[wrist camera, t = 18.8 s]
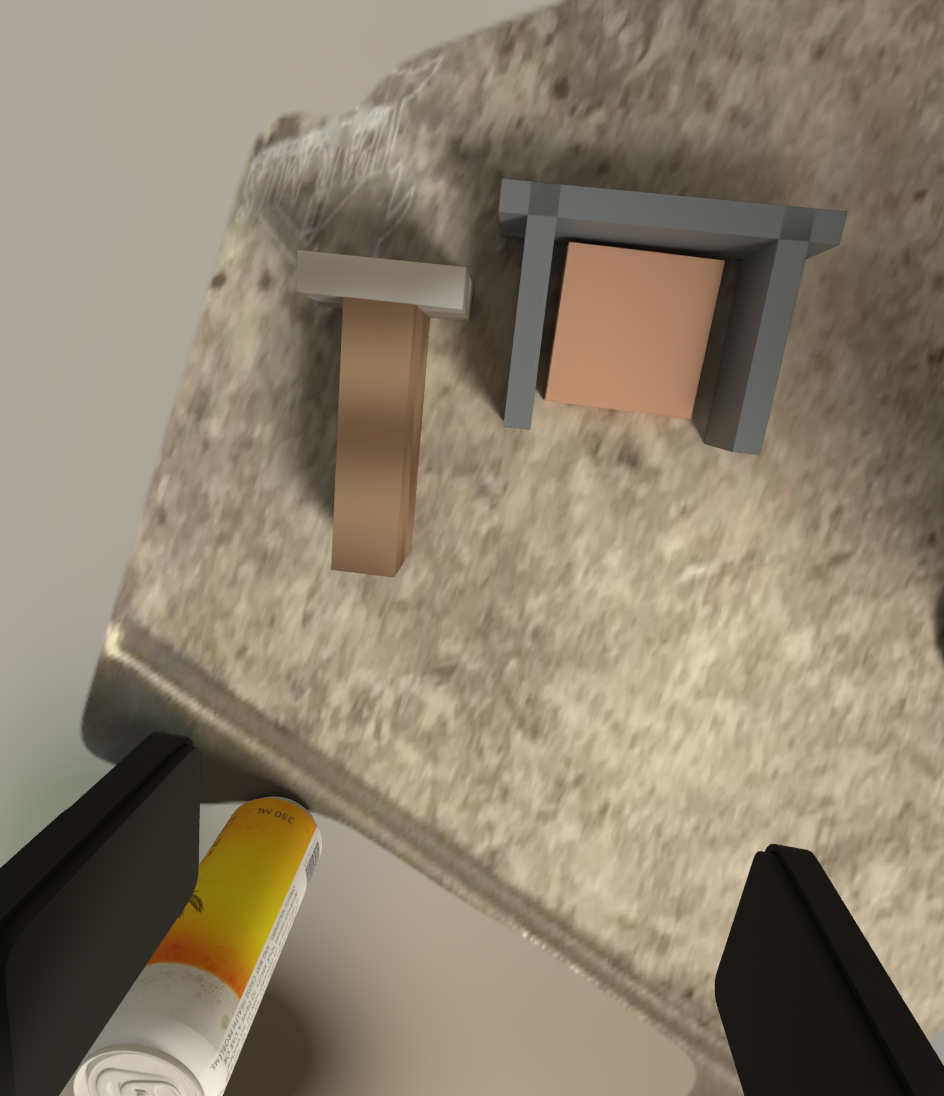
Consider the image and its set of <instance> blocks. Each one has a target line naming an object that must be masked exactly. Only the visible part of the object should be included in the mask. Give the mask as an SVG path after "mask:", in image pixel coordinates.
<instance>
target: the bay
mask: <svg viewBox="0 0 944 1096" xmlns="http://www.w3.org/2000/svg"><path fill="white" fill-rule="evenodd" d="M846 215H847V212H846V211H835V210H825V209H814V208H804V207H793V206H783V205H772V204H762V203H751V202H741V201H730V200H720V199H709V198H698V197H688V196H677V195H667V194H656V193H646V192H635V191H625V190H614V189H604V188H593V187H583V186H572V185H562V184H551V183H540V182H530V181H519V180H509V179H502V185H501V194H500V204H499V223H500V236H508V237H519V238H525V243H524V252H523V261H522V269H521V278H520V287H519V296H518V304H517V313H516V322H515V330H514V339H513V348H512V356H511V365H510V374H509V383H508V391H507V400H506V409H505V417H504V426H503V427H509V428H518V429H527V430H530V426H531V418H532V411H533V403H534V395H535V387H536V379H537V371H538V363H539V355H540V347H541V340H542V332H543V324H544V316H545V308H546V300H547V292H548V284H549V276H550V269H551V261H552V253H553V245H554V241H559V242H574V243H582V244H591V245H600V246H610V247H620V248H631V249H641V250H651V251H661V252H671V253H681V254H692V255H702V256H712V257H722V258H732V259H742V262H741V267H740V272H739V277H738V281H737V286H736V291H735V296H734V301H733V306H732V311H731V316H730V321H729V325H728V330H727V335H726V340H725V345H724V350H723V355H722V360H721V365H720V369H719V374H718V379H717V384H716V389H715V394H714V399H713V404H712V409H711V413H710V418H709V423H708V428H707V433H706V438H705V443H704V444H707V445H710V446H714V447H717V448H721V449H724V450H728V451H731V452H738V453H748V454H757V455H760V453H761V448H762V444H763V440H764V435H765V431H766V427H767V422H768V418H769V414H770V409H771V405H772V401H773V396H774V392H775V388H776V383H777V379H778V375H779V370H780V366H781V362H782V357H783V353H784V348H785V344H786V340H787V335H788V331H789V327H790V322H791V318H792V314H793V309H794V305H795V301H796V296H797V292H798V288H799V283H800V279H801V275H802V270H803V266H804V262H805V259H807V258H810V257H812V256H814V255H817V254H819V253H821V252H824V251H826V250H828V249H830V248H833V247H835V246H837V245H839V244H840V239H841V235H842V231H843V227H844V223H845V219H846Z"/></svg>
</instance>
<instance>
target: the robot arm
mask: <svg viewBox="0 0 944 1096" xmlns="http://www.w3.org/2000/svg"><path fill="white" fill-rule="evenodd" d="M200 767H201V754H200V750H199V749H198V748H194V747H193V743H192V741H191V739H190V738H188V737H184V736H179V735H173V734H168V733H162V732H154V733H152V734H151V735H149V736H148V737H147V738H146V739H145V740H144V741H143V742H141V743H140V744H139V745H138V746H137V747H136V748H135V749H134V750H133V751H132V752H130V753H129V754H128V755H127V756H126V757H125V758H124V759H123V760H122V761H120V762H119V763H118V764H117V765H116V766H115V767H114V768H113V769H112V770H111V771H109V772H108V773H107V774H106V775H105V776H104V777H103V778H102V779H101V780H100V781H98V782H97V783H96V784H95V785H94V786H93V787H92V788H91V789H90V790H89V791H87V793H85V794H84V795H83V796H82V797H81V798H80V799H79V800H77V801H76V802H75V803H74V804H73V805H72V806H71V807H69V808H68V809H67V810H65V811H64V812H62V813H61V814H60V815H59V816H58V817H57V818H55V820H54V821H52V822H51V823H50V824H49V825H48V826H47V827H45V828H44V829H43V830H42V831H41V832H40V833H39V834H38V835H37V836H35V837H34V838H33V839H32V840H31V841H30V842H29V843H28V844H27V845H25V846H24V847H23V848H22V849H21V850H20V851H19V852H18V853H17V854H16V855H14V856H13V857H12V858H11V859H10V860H9V861H8V862H7V863H6V864H4V865H3V866H2V867H1V868H0V1096H59V1095H60V1093H61V1092H62V1090H63V1089H64V1087H65V1086H66V1084H67V1083H68V1081H69V1080H70V1078H71V1077H72V1075H73V1074H74V1072H75V1071H76V1069H77V1068H78V1066H79V1065H80V1063H81V1062H82V1060H83V1059H84V1057H85V1056H86V1054H87V1053H88V1051H89V1050H90V1048H91V1047H92V1045H93V1044H94V1042H95V1041H96V1039H97V1038H98V1036H99V1035H100V1033H101V1032H102V1030H103V1029H104V1027H105V1026H106V1024H107V1023H108V1021H109V1020H110V1018H111V1017H112V1016H113V1014H114V1013H115V1011H116V1010H117V1008H118V1007H119V1005H120V1004H121V1002H122V1001H123V999H124V998H125V996H126V995H127V993H128V992H129V990H130V989H131V987H132V986H133V984H134V983H135V981H136V980H137V978H138V977H139V975H140V974H141V972H142V971H143V969H144V968H145V966H146V965H147V963H148V962H149V960H150V959H151V957H152V956H153V954H154V953H155V951H156V950H157V948H158V947H159V945H160V944H161V942H162V941H163V939H164V938H165V936H166V935H167V933H168V932H169V930H170V929H171V927H172V926H173V924H174V923H175V921H176V920H177V918H178V917H179V915H180V914H181V912H182V911H183V909H184V908H185V906H186V905H187V903H188V902H189V900H190V898H191V897H192V895H193V892H194V890H195V887H196V884H197V880H198V871H199V819H200V818H199V817H200V816H199V815H200ZM715 998H716V1003H717V1007H718V1010H719V1013H720V1017H721V1020H722V1023H723V1027H724V1030H725V1033H726V1036H727V1040H728V1043H729V1046H730V1050H731V1053H732V1056H733V1059H734V1063H735V1066H736V1069H737V1073H738V1076H739V1079H740V1082H741V1086H742V1089H743V1092H744V1096H944V1065H943V1064H942V1062H941V1061H940V1059H939V1057H938V1056H937V1054H936V1052H935V1051H934V1050H933V1048H932V1046H931V1044H930V1043H929V1041H928V1039H927V1038H926V1036H925V1034H924V1033H923V1031H922V1030H921V1028H920V1026H919V1025H918V1023H917V1021H916V1020H915V1018H914V1017H913V1015H912V1013H911V1012H910V1010H909V1008H908V1007H907V1005H906V1003H905V1002H904V1000H903V999H902V997H901V995H900V994H899V992H898V990H897V989H896V987H895V986H894V984H893V982H892V981H891V979H890V977H889V976H888V974H887V972H886V971H885V969H884V968H883V966H882V964H881V963H880V961H879V959H878V958H877V956H876V955H875V953H874V951H873V950H872V948H871V946H870V945H869V943H868V941H867V940H866V938H865V937H864V935H863V933H862V932H861V930H860V928H859V927H858V925H857V924H856V922H855V920H854V919H853V917H852V915H851V914H850V912H849V910H848V909H847V907H846V906H845V904H844V902H843V901H842V899H841V897H840V896H839V894H838V893H837V891H836V889H835V888H834V886H833V884H832V883H831V881H830V879H829V878H828V876H827V875H826V873H825V871H824V870H823V868H822V866H821V865H820V863H819V862H818V860H817V858H816V857H815V856H814V854H813V853H812V852H810V851H808V850H805V849H799V848H794V847H788V846H783V845H777V844H770V845H769V846H768V847H767V848H766V850H765V852H762V851H759V852H757V853H756V854H755V857H754V859H753V862H752V865H751V868H750V871H749V874H748V877H747V881H746V884H745V887H744V890H743V893H742V896H741V899H740V902H739V905H738V908H737V912H736V915H735V918H734V921H733V924H732V927H731V930H730V933H729V936H728V939H727V943H726V946H725V949H724V952H723V955H722V958H721V961H720V964H719V967H718V970H717V973H716V978H715Z"/></svg>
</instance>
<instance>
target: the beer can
mask: <svg viewBox="0 0 944 1096" xmlns="http://www.w3.org/2000/svg"><path fill="white" fill-rule="evenodd" d="M321 851H322V838H321V834H320V831H319V829H318V827H317V825H316V822H315V821H314V818H313V817H312V815H311V814H310V813H309V812H308V811H307V810H306V809H305V808H304V807H303V806H302V805H300V804H299V803H297V802H295V801H293V800H291V799H287V798H284V797H275V796H272V797H265V798H259V799H255V800H252V801H249V802H247V803H245V804H243V805H242V806H240V807H239V808H238V809H237V810H236V811H235V812H234V814H233V815H232V816H231V818H230V819H229V821H228V822H227V824H226V825H225V827H224V828H223V830H222V832H221V833H220V834H219V836H218V838H217V839H216V841H215V842H214V844H213V845H212V847H211V848H210V850H209V851H208V853H207V854H206V856H205V857H204V859H203V860H202V862H201V863H200V865H199V871H198V880H197V884H196V887H195V890H194V892H193V895H192V897H191V898H190V900H189V902H188V903H187V905H186V906H185V908H184V909H183V911H182V912H181V914H180V915H179V917H178V918H177V920H176V921H175V923H174V924H173V926H172V927H171V929H170V930H169V932H168V933H167V935H166V936H165V938H164V939H163V941H162V942H161V944H160V945H159V947H158V948H157V950H156V951H155V953H154V954H153V956H152V957H151V959H150V960H149V962H148V963H147V965H146V966H145V968H144V969H143V971H142V972H141V974H140V975H139V977H138V978H137V980H136V981H135V983H134V984H133V986H132V987H131V989H130V990H129V992H128V993H127V995H126V996H125V998H124V999H123V1001H122V1002H121V1004H120V1005H119V1007H118V1008H117V1010H116V1011H115V1013H114V1014H113V1016H112V1017H111V1018H110V1020H109V1021H108V1023H107V1024H106V1026H105V1027H104V1029H103V1030H102V1032H101V1033H100V1035H99V1036H98V1038H97V1039H96V1041H95V1042H94V1044H93V1045H92V1047H91V1048H90V1050H89V1051H88V1053H87V1054H86V1056H85V1057H84V1059H83V1060H82V1062H81V1063H80V1067H79V1069H78V1070H77V1073H76V1075H75V1078H74V1083H73V1091H74V1096H222V1095H223V1093H224V1090H225V1088H226V1086H227V1083H228V1081H229V1078H230V1076H231V1073H232V1071H233V1068H234V1066H235V1063H236V1061H237V1058H238V1056H239V1053H240V1051H241V1049H242V1046H243V1043H244V1041H245V1039H246V1037H247V1034H248V1032H249V1029H250V1027H251V1024H252V1022H253V1019H254V1017H255V1014H256V1012H257V1010H258V1007H259V1005H260V1002H261V1000H262V997H263V995H264V992H265V990H266V987H267V985H268V982H269V980H270V978H271V975H272V973H273V970H274V968H275V965H276V963H277V960H278V958H279V956H280V953H281V951H282V948H283V946H284V943H285V941H286V938H287V936H288V933H289V931H290V929H291V926H292V924H293V921H294V919H295V916H296V914H297V911H298V909H299V907H300V904H301V902H302V899H303V896H304V894H305V892H306V889H307V887H308V884H309V882H310V880H311V877H312V875H313V872H314V870H315V867H316V865H317V862H318V860H319V857H320V855H321Z"/></svg>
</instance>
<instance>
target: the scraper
mask: <svg viewBox="0 0 944 1096" xmlns="http://www.w3.org/2000/svg"><path fill="white" fill-rule="evenodd" d="M473 289H474V287H473V284H472V281H471V279H470V276H469V273H468V271H467V268H466V267H459V266H450V265H440V264H430V263H420V262H410V261H401V260H391V259H381V258H371V257H361V256H352V255H342V254H332V253H322V252H313V251H303V250H297V278H296V292H298V293H300V294H302V295H305V296H307V297H309V298H311V299H314V300H316V301H318V302H320V303H322V304H325V305H327V306H329V307H333V308H343V315H342V337H341V360H340V383H339V405H338V428H337V451H336V473H335V496H334V519H333V541H332V564H331V570H337V571H346V572H354V573H362V574H371V575H379V576H387V577H395V575H396V574H397V572H398V571H399V569H400V567H401V566H402V564H403V562H404V561H405V559H406V558H407V556H408V554H409V553H410V551H411V549H412V537H413V524H414V512H415V499H416V487H417V475H418V462H419V450H420V438H421V425H422V413H423V401H424V388H425V376H426V363H427V351H428V339H429V326H430V318H438V319H447V320H456V321H466V322H470V319H471V309H472V299H473Z"/></svg>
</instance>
